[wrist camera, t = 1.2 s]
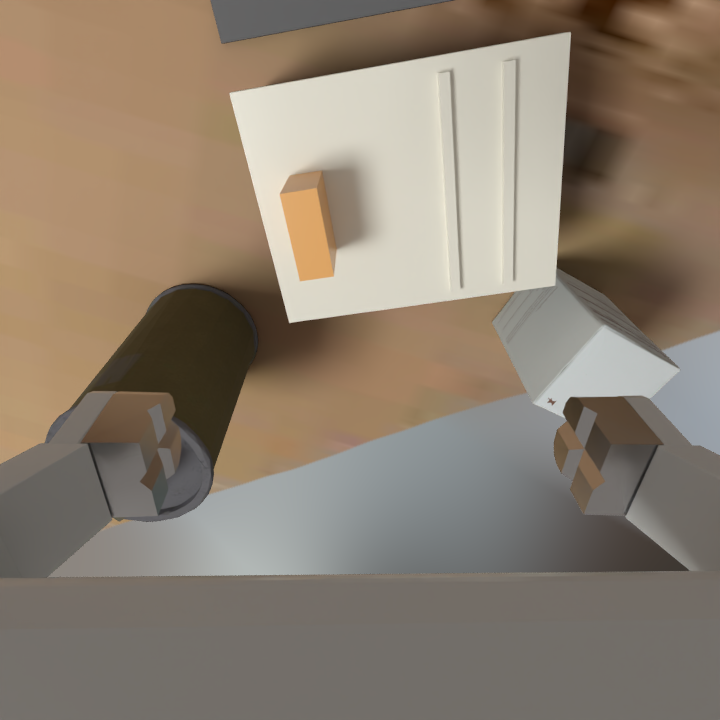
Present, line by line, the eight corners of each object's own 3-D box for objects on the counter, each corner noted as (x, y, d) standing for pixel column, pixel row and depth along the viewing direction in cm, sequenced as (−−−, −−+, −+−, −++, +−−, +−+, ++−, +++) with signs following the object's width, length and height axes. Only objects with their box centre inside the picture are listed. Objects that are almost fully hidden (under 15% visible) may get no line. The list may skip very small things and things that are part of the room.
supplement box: (551, 354, 47) (607, 443, 37) (489, 321, 46) (529, 405, 35) (606, 293, 44) (685, 371, 33) (541, 254, 42) (604, 324, 31)
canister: (197, 260, 42) (89, 401, 25) (281, 342, 47) (237, 508, 30) (118, 330, 46) (-21, 494, 29) (204, 400, 50) (125, 578, 33)
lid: (556, 33, 28) (607, 28, 22) (545, 273, 35) (580, 315, 30) (237, 90, 29) (208, 100, 24) (292, 309, 37) (281, 356, 31)
